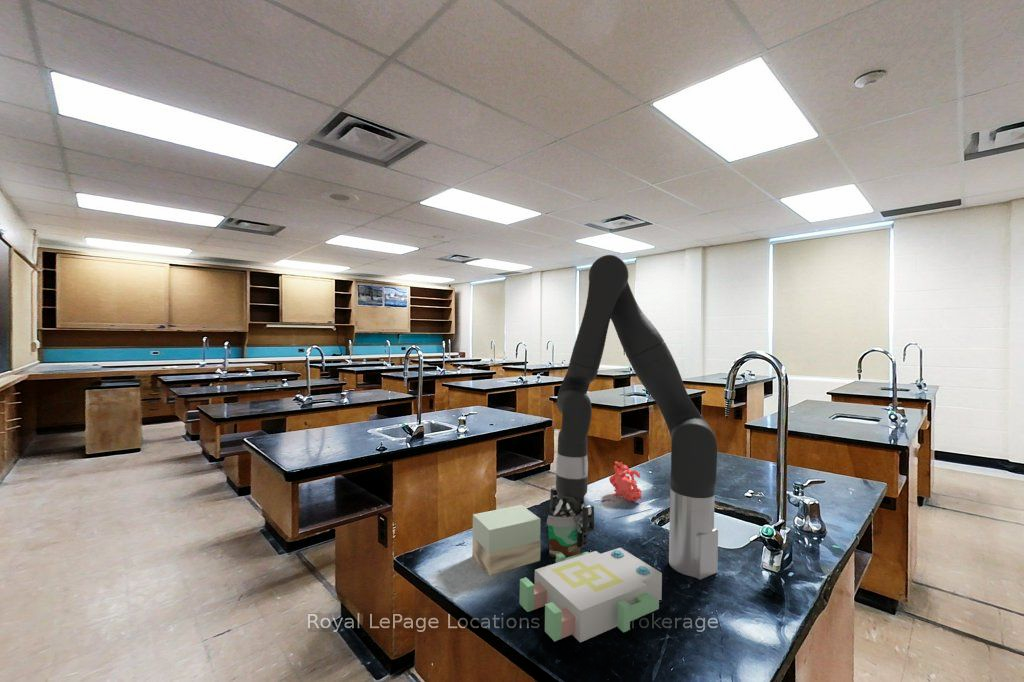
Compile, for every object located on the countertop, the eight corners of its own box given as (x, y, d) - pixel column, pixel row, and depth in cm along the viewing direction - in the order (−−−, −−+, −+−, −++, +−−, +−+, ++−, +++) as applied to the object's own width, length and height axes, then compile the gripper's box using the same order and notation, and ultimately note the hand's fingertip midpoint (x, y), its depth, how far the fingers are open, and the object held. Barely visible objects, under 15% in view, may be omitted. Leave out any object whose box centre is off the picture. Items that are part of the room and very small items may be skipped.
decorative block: (606, 536, 97) (680, 580, 79) (606, 564, 97) (679, 614, 79) (508, 564, 84) (570, 625, 67) (508, 596, 84) (570, 665, 67)
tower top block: (540, 540, 97) (540, 518, 97) (488, 553, 91) (489, 530, 91) (520, 524, 105) (521, 504, 105) (472, 535, 99) (472, 514, 99)
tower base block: (540, 561, 97) (540, 540, 97) (489, 577, 91) (490, 553, 91) (520, 544, 105) (520, 524, 105) (472, 557, 99) (472, 536, 99)
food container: (569, 567, 94) (570, 523, 94) (545, 558, 98) (546, 515, 98) (594, 546, 104) (594, 506, 104) (572, 539, 108) (572, 500, 108)
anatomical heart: (637, 511, 130) (632, 476, 128) (605, 499, 139) (600, 467, 137) (652, 497, 135) (647, 463, 133) (620, 486, 144) (615, 455, 142)
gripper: (604, 479, 97) (602, 549, 97) (566, 462, 109) (564, 524, 109) (578, 484, 93) (576, 557, 93) (542, 466, 105) (540, 530, 106)
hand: (570, 539), depth 101 cm, fingers open, 8 cm apart
